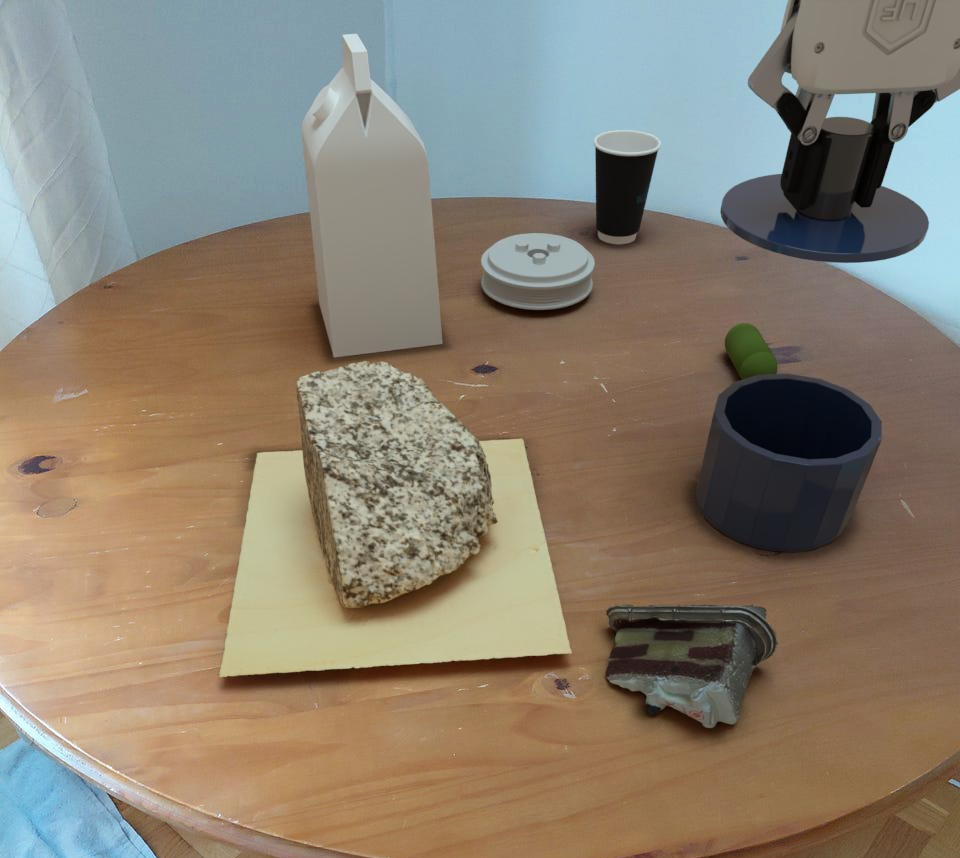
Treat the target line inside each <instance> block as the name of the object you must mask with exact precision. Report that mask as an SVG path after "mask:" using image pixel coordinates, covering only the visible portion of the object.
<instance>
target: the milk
mask: <svg viewBox="0 0 960 858" xmlns="http://www.w3.org/2000/svg"><path fill="white" fill-rule="evenodd" d="M341 43H342V44H341V45H342V47H341V50H342V51H341V53H342V67H341V68H340V70H338V72H337V73H336V74H335V76H334V77H333V78H332V80H331V81H330V82H329V83H328V85H325V86H324V87H323V88H322V89H321V90H320V91H319V92H318V94H317V95H316V97H315V98H314V100H313V103H312V104H311V106H310V108H309V109H308V111H307V112H306V114H305V116H304V118H303V121H302V123H301V143H302V151H303V152H302V153H303V160H304V162H303V163H304V170H305V172H304V173H305V181H306V190H307V199H308V209H309V218H310V228H311V237H312V249H313V255H314V256H313V258H314V266H315V275H316V276H315V277H316V286H317V294H318V304H319V308H320V311H321V316H322V320H323V322H324V326H325V331H326V334H327V338H328V341H329V342H328V343H329V345H330V349H331V352H332V357H333V358H335V359H336V358H343V357H351V356H357V355H366V354H374V353H382V352H391V351H397V350H406V349H414V348H422V347H430V346H438V345H443V344H444V341H443V331H442V317H441V306H440V304H441V303H440V295H439V294H440V293H439V281H438V268H437V267H438V266H437V255H436V254H437V253H436V244H435V231H434V217H433V206H432V192H431V191H432V190H431V180H430V179H431V178H430V168H429V161H428V155H427V151H426V145H425V143H424V140H423V139H422V137H421V136H420V134H419V133H418V131H417V130H416V128H415V125H414V124H413V122H412V121H411V119H410V117H409V115H407V114H406V113H405V112H404V110H402V108H401V107H400V106H399V105H398V104H397V103H396V102H395V101H394V99H393V98H391V96H389V95H388V93H387V92H385V91H384V90H383V89H382V88H381V87H380V86H379V85H378V84H377V83H376V82H375V81H374V80H373V79H372V78H371V73H370V63H369V52H368V50H367V48H366V47H365V44H364V43H363V41H362V40H361V38H360V36H359V34H358V33H348V34H347V33H346V34H342V35H341Z"/></svg>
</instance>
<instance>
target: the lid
mask: <svg viewBox="0 0 960 858" xmlns="http://www.w3.org/2000/svg"><path fill="white" fill-rule="evenodd" d="M480 263H481V265H480V267H481V268H482V270H483V274H482V276H481V280H480V284H481V288H482V291H483V292H484V293H485V294H486V295H487V296H488V297H489V298H491V299H492V300H494V301H496V302H497V303H500V304H503V305H505V306H509V307H511V308H517V309H522V310H532V311H545V310H556V309H562V308H567V307H569V306H573V305H575V304H578V303H580V302H581V301H583V300H584V299H586V298H587V297H588V296H589V295H590V294H591V292H592V290H593V285H594V282H593V279H592V274H593V272H594V270H595V263H596V261H595V258H594V256H593V255H592V253H591V252H590V251H588V250H587V249H586V248H585V247H584V246H583V245H582V244H581V243H579V242H578V241H576V240H575V239H571V238H568V237H567V236H563V235H559V234H552V233H546V232H545V233H543V232H542V233H541V232H532V233H531V232H530V233H529V232H527V233H519V234H514V235H511V236H507V237H505V238H504V237H503V238H502V239H500V240H498V241H496V242H495V243H494V244H493V245H491V246H490V247H488V248H487V249H486V250H485V251H484V252H483V254H482V256H481V260H480Z"/></svg>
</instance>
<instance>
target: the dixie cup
mask: <svg viewBox="0 0 960 858" xmlns="http://www.w3.org/2000/svg"><path fill="white" fill-rule="evenodd" d="M592 143H593V146H594V148H595V149H594V150H595V153H594V155H595V227H596V230H597V237H598V239H599V240H600V241H601V242H604V243H607V244H610V245H626V244H630V243H633V242H635V241H636V238H637V234H638V232H639V231H640V229H641V226H642V220H643V216H644V212H645V208H646V203H647V200H648V195H649V190H650V187H651V182H652V179H653V178H652V177H653V173H654V169H655V165H656V160H657V156H658V152H659V150H660V149H661V147H662V141H661V140H660V138H658V136H656V135H654V134H652V133H649V132H645V131H642V130H641V131H640V130H633V129H614V130H608V131H604V132H601V133H599V134H597V135H595V137H594V138H593V141H592Z"/></svg>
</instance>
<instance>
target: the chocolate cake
mask: <svg viewBox="0 0 960 858" xmlns="http://www.w3.org/2000/svg"><path fill="white" fill-rule="evenodd" d="M605 615H606V616H607V617H608V625H609V627H610V628H611V629H612V630H613V631H614V632H616V635H615V637H614V644H615V645H614V647H612V649H611V651H610V653H609V657H608V664H607V667H606V668H605V673H604V675H605V678H606V679H607V680H608V681H609V683H611V684H612V685H617V686H619V687H620V688H622V689H627V690H629V691H630V692H641V693H642V694H644V695H645V696H646V698H645V710H646V711H647V712H648V713H649V714H650V715H658V713H659V712H661V711H663V709H665V708H666V707H670V708H673V709H674V710H677V711H678V712H680V713H683V714H684V715H686V716H688V717H689V718H691V719H693V720H696V721H697V722H699V723H701V725H702V726H703V727H704V728H707V729H713V728H714V727H716V725H717V723H719V722H721V723H724V724H727V725H735V724H736V723H737V722H738V721H739V718H740V714H741V709H742V703H743V701H744V700H745V697H746V693H747V688H748V684H749V682H750V679H751V677H752V674H753V672H754V670H755V668H757V667H758V665H759V664H760V663H761V662H764V661H766V660H769V659H770V658H771V657H773V656H774V654H775V652H776V649H777V646H778V645H779V642H778V639H777V636H778V635H777V632H776V631H775V629H774V628H773V626H772V625H771V624H770V623H769V622H768V620H767V619H766V617H767V615H768V614H767V609H766V607H764V606H754V604H751V605H737V606H736V605H719V604H699V605H697V604H691V605H679V604H678V605H661V604H659V605H658V604H657V605H654V604H651V605H650V604H649V605H647V606H646V605H644V606H643V605H642V606H640V605H639V606H637V605H636V606H634V604H621V605H619V604H617V603H615V604H614V605H611V606H609V607H608V608H607V609H605Z"/></svg>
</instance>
